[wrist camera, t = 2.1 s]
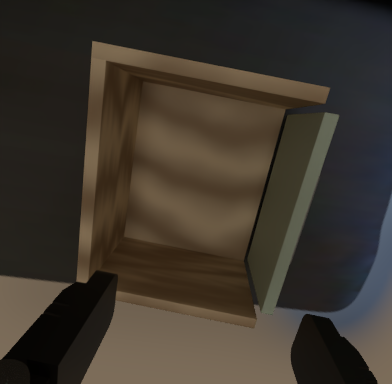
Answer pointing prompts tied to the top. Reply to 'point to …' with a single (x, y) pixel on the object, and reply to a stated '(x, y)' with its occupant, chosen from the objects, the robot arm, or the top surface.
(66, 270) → the top surface
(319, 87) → the crate
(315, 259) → the top surface
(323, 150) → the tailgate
